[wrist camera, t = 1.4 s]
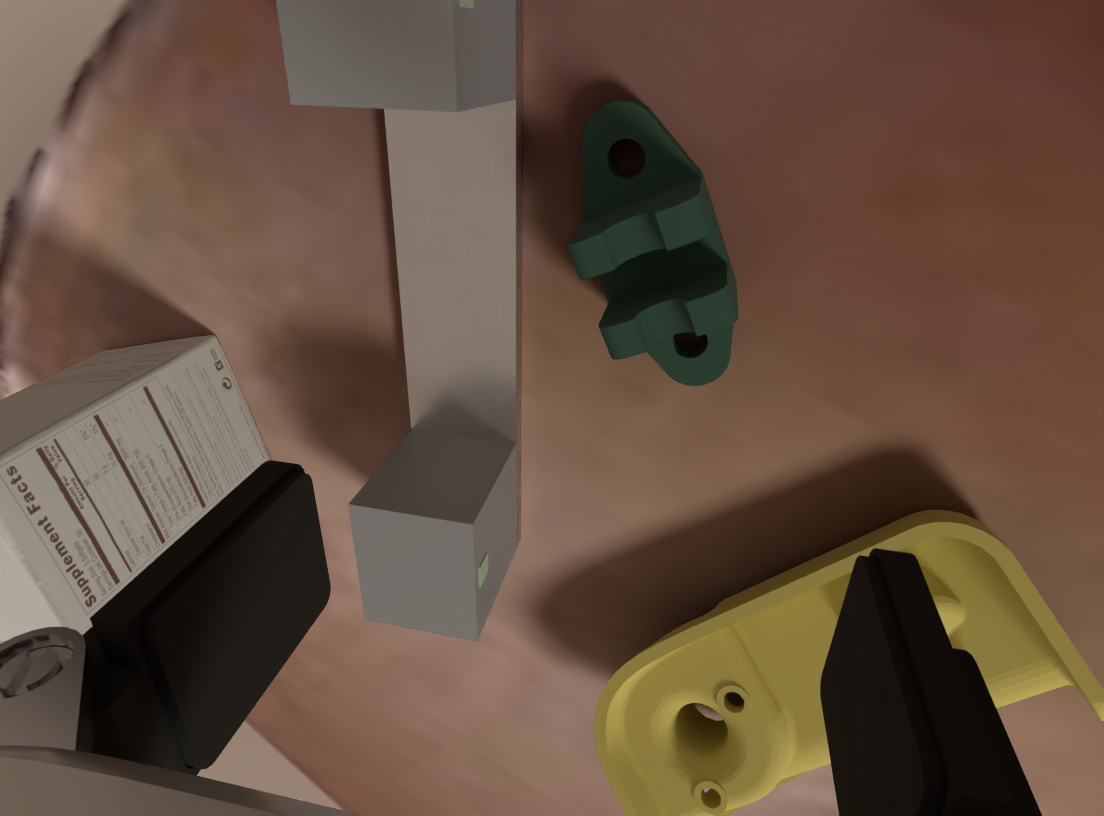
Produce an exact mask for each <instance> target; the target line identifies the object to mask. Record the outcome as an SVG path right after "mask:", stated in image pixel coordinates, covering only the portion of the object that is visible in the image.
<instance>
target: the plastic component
mask: <svg viewBox="0 0 1104 816" xmlns="http://www.w3.org/2000/svg"><path fill="white" fill-rule="evenodd" d="M874 548H878V549H885V550H892V551H899V552H905V553H912V554H914V555H915V556H916V558H917V560H918V562H919V565H920V567H921V570H922V572H923V575H924V577H925V580H926V582H927V585H928V587H929V590H930V592H931V595H932V597H933V600H934V602H935V605H936V607H937V610H938V612H939V615H940V617H941V620H942V622H943V625H944V628H945V630H946V633H947V635H948V638H949V640H950V643H951V645H952V648H956V649H962V650H967V651H968V652H969V653H970V654H971V655H972V656H973V658H974V659H975V661H976V663H977V665H978V667H979V669H980V672H981V674H982V676H983V679H984V681H985V683H986V686H987V688H988V690H989V693H990V695H991V697H992V700H993V702H994V704H995V707H996V708H999V707H1002V706H1005V705H1008V704H1011V703H1014V702H1017V701H1020V700H1023V699H1026V698H1029V697H1032V696H1035V695H1038V694H1041V693H1044V692H1047V691H1050V690H1053V689H1056V688H1059V687H1065V686H1066V687H1073V688H1076V689H1078V690H1079V691H1080V692H1081V694H1082V695H1083V696H1084V698H1085V699H1086V700H1087V702H1088V703H1089V705H1090V706H1091V707H1092V709H1093V710H1094V711H1095V713H1096V714H1097V715H1098V717H1099V718H1100V719H1101V720H1102V721H1104V690H1103V689H1102V687H1101V686H1100V684H1099V683H1098V681H1097V680H1096V678H1095V677H1094V675H1093V674H1092V672H1091V671H1090V669H1089V668H1088V666H1087V665H1086V663H1085V662H1084V660H1083V659H1082V657H1081V656H1080V654H1079V653H1078V651H1077V650H1076V648H1075V647H1074V645H1073V644H1072V642H1071V641H1070V639H1069V638H1068V636H1067V634H1066V633H1065V631H1064V630H1063V628H1062V627H1061V625H1060V624H1059V622H1058V621H1057V619H1056V618H1055V616H1054V615H1053V613H1052V612H1051V610H1050V609H1049V607H1048V606H1047V604H1046V603H1045V601H1044V600H1043V598H1042V597H1041V595H1040V594H1039V592H1038V591H1037V589H1036V588H1035V586H1034V585H1033V583H1032V582H1031V580H1030V579H1029V577H1028V576H1027V574H1026V573H1025V571H1024V570H1023V568H1022V567H1021V565H1020V564H1019V562H1018V561H1017V559H1016V558H1015V556H1014V555H1013V553H1012V552H1011V551H1010V550H1009V549H1008V548H1007V547H1006V546H1005V545H1004V544H1003V542H1002V541H1001V540H1000V539H999V538H998V537H997V536H996V535H995V534H994V533H993V532H992V531H991V530H990V529H989V528H988V527H986V526H985V525H984V524H982V523H981V522H979V521H977V520H976V519H974V518H972V517H970V516H967V515H965V514H962V513H958V512H954V511H948V510H940V509H936V510H924V511H920V512H916V513H912V514H910V515H908V516H905V517H903V518H901V519H899V520H897V521H894V522H892V523H890V524H888V525H886V526H883V527H881V528H879V529H877V530H875V531H873V532H870V533H868V534H866V535H864V536H862V537H859V538H857V539H855V540H853V541H851V542H849V543H846V544H844V545H842V546H840V547H838V548H835V549H833V550H831V551H829V552H827V553H824V554H822V555H820V556H818V557H816V558H814V559H811V560H809V561H807V562H805V563H803V564H800V565H798V566H796V567H794V568H792V569H789V570H787V571H785V572H783V573H781V574H779V575H776V576H774V577H772V578H770V579H768V580H765V581H763V582H761V583H759V584H757V585H755V586H752V587H750V588H748V589H746V590H744V591H741V592H739V593H737V594H735V595H733V596H730V597H728V598H726V599H724V600H722V601H721V602H720V603H718V605H717V606H716V607H715V608H714V609H713V610H711V611H710V612H708V613H707V614H705V615H703V616H701V617H699V618H696V619H694V620H692V621H690V622H687V623H685V624H684V625H682V626H680V627H678V628H676V629H674V630H672V631H671V632H669V633H668V634H666V635H664V636H663V637H662V638H660V639H659V640H657V641H656V642H655V643H653V644H652V645H650V646H649V647H647V648H646V649H644V650H643V651H641V652H640V653H638V654H637V655H636V656H634V657H633V658H632V659H630V660H629V661H628V662H627V663H625V664H624V665H623V666H622V667H621V668H620V669H619V670H618V671H617V672H616V673H615V674H614V675H613V676H612V677H611V679H610V680H609V681H608V682H607V684H606V686H605V687H604V689H603V691H602V693H601V695H600V698H599V701H598V704H597V707H596V713H595V719H594V736H595V745H596V749H597V754H598V758H599V761H600V763H601V766H602V769H603V771H604V774H605V776H606V778H607V780H608V782H609V784H610V786H611V788H612V790H613V792H614V794H615V796H616V798H617V800H618V802H619V804H620V805H621V807H622V809H623V811H624V813H625V815H626V816H728V815H729V814H731V813H733V812H734V811H736V810H737V809H739V808H741V807H742V806H744V805H747V804H750V803H753V802H755V801H757V800H759V799H761V798H762V797H764V796H765V795H767V794H768V793H769V792H770V791H771V790H772V789H774V788H775V787H777V786H779V785H781V784H783V783H785V782H787V781H789V780H791V779H793V778H795V777H797V776H799V775H801V774H803V773H805V772H807V771H809V770H812V769H815V768H818V767H821V766H824V765H827V764H830V763H831V760H830V754H829V748H828V742H827V735H826V729H825V723H824V717H823V710H822V704H821V697H820V682H821V676H822V671H823V668H824V665H825V661H826V658H827V655H828V651H829V648H830V645H831V641H832V638H833V634H834V631H835V628H836V624H837V621H838V618H839V614H840V611H841V608H842V604H843V601H844V597H845V594H846V591H847V587H848V584H849V581H850V577H851V574H852V571H853V567H854V564H855V561H856V558H857V557H858V556H860V555H861V556H869V554H870V552H871V551H872V549H874ZM694 703H701V704H704V705H706V706H709V707H711V708H712V709H714V710H715V711H716V712H717V713H719V715H720V716H721V717H722V718H723V720H721V721H715V720H712V719H710V718H707V717H705V716H704V715H703V714H702V713H700V712H699V711H698V710H697V708H696V706H695V705H694ZM708 787H709V788H711V789H710V790H709V791H707V792H706V793H705V792H704V790H703V789H704V788H708Z"/></svg>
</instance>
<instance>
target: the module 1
mask: <svg viewBox="0 0 1104 816" xmlns="http://www.w3.org/2000/svg"><path fill="white" fill-rule="evenodd" d="M276 4H277V11H278V18H279V25H280V32H281V39H282V46H283V53H284V60H285V67H286V74H287V81H288V88H289V95H290V101H291V104H292V105H313V106H335V107H357V108H378V109H400V110H422V111H443V112H460V111H465V110H470V109H474V108H479V107H484V106H488V105H493V104H498V103H503V102H507V101H512V100H516V0H276Z"/></svg>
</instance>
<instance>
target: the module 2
mask: <svg viewBox="0 0 1104 816" xmlns="http://www.w3.org/2000/svg"><path fill="white" fill-rule="evenodd" d="M348 505H349V512H350V519H351V526H352V532H353V539H354V546H355V553H356V560H357V567H358V574H359V581H360V588H361V595H362V602H363V609H364V616H365V620H370V621H375V622H380V623H385V624H391V625H396V626H401V627H406V628H411V629H416V630H421V631H426V632H431V633H436V634H441V635H446V636H451V637H457V638H462V639H467V640H472V641H478V639H479V636H480V634H481V632H482V629H483V627H484V625H485V622H486V620H487V617H488V615H489V613H490V610H491V608H492V605H493V603H494V601H495V598H496V596H497V594H498V591H499V589H500V586H501V584H502V582H503V579H504V577H505V574H506V572H507V570H508V567H509V565H510V563H511V560H512V558H513V555H514V553H515V551H516V444H514V443H507V442H500V441H493V440H485V439H478V438H471V437H464V436H457V435H449V434H442V433H435V432H428V431H421V430H413V429H411V430H410V431H409V432H408V434H407V435H406V436H405V437H404V438H403V440H402V441H401V442H400V443H399V444H398V446H397V447H396V448H395V449H394V450H393V452H392V453H391V454H390V455H389V456H388V458H387V459H386V460H385V461H384V462H383V464H382V465H381V466H380V467H379V468H378V470H377V471H376V472H375V473H374V474H373V476H372V477H371V478H370V479H369V480H368V482H367V483H366V484H365V485H364V486H363V488H362V489H361V490H360V491H359V492H358V493H357V495H356V496H355V497H354V498H353V499H352V501H351V502H350V503H349V504H348Z"/></svg>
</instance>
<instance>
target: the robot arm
mask: <svg viewBox="0 0 1104 816" xmlns="http://www.w3.org/2000/svg"><path fill="white" fill-rule="evenodd" d="M330 590H331V587H330V580H329V574H328V568H327V563H326V557H325V551H324V546H323V540H322V534H321V529H320V523H319V517H318V511H317V506H316V500H315V494H314V489H313V483H312V479H311V477H310V475H308V474H306V473H305V472H304V469H303V468H302V467H301V466H300V465H298V464H293V463H286V462H279V461H272V460H270V461H266V462H264V463H263V464H261V465H260V466H259V467H258V468H257V469H256V470H255V471H253V472H252V473H251V474H250V475H249V476H248V477H247V478H246V479H245V480H243V481H242V482H241V483H240V484H239V485H238V486H237V487H236V488H234V489H233V490H232V491H231V492H230V493H229V494H228V495H227V496H226V497H224V498H223V499H222V500H221V501H220V502H219V503H218V504H217V505H215V506H214V507H213V508H212V509H211V510H210V511H209V512H208V513H207V514H205V515H204V516H203V517H202V518H201V519H200V520H199V521H198V522H196V523H195V524H194V525H193V526H192V527H191V528H190V529H189V530H188V531H186V532H185V533H184V534H183V535H182V536H181V537H180V538H179V539H177V540H176V541H175V542H174V543H173V544H172V545H171V546H170V547H169V548H167V549H166V550H165V551H164V552H163V553H162V554H161V555H160V556H158V557H157V558H156V559H155V560H154V561H153V562H152V563H151V564H150V565H148V566H147V567H146V568H145V569H144V570H143V571H142V572H141V573H139V574H138V575H137V576H136V577H135V578H134V579H133V580H132V581H131V582H129V583H128V584H127V585H126V586H125V587H124V588H123V589H122V590H120V591H119V592H118V593H117V594H116V595H115V596H114V597H113V598H112V599H110V600H109V601H108V602H107V603H106V604H105V605H104V606H103V607H101V608H100V609H99V610H98V611H97V612H96V613H95V614H94V615H93V616H91V617H90V620H91V623H92V625H93V627H92V628H90V629H89V630H88V631H87V632H86V633H85V634H84V635H83V636H82V635H81V634H80V633H79V632H78V631H77V630H74V629H71V628H68V627H46V628H41V629H36V630H32V631H29V632H26V633H23V634H21V635H18V636H15V637H13V638H11V639H9V640H7V641H5V642H4V643H2V644H0V816H363V815H359V814H355V813H351V812H347V811H343V810H339V809H334V808H330V807H326V806H321V805H318V804H313V803H309V802H305V801H301V800H297V799H292V798H288V797H284V796H279V795H275V794H271V793H267V792H263V791H258V790H254V789H250V788H246V787H242V786H238V785H233V784H229V783H225V782H221V781H216V780H212V779H208V778H204V777H200V776H196V775H197V774H198V773H199V771H200V770H201V769H206V768H208V767H209V766H211V765H212V764H213V763H214V762H215V760H216V759H217V758H218V756H219V755H220V754H221V752H222V751H223V749H224V748H225V747H226V745H227V744H228V742H229V741H230V740H231V738H232V737H233V735H234V734H235V732H236V731H237V730H238V728H239V727H240V726H241V724H242V723H243V721H244V720H245V719H246V717H247V716H248V714H249V713H250V712H251V710H252V709H253V707H254V706H255V705H256V703H257V702H258V700H259V699H260V698H261V696H262V695H263V693H264V692H265V691H266V689H267V688H268V686H269V685H270V684H271V682H272V681H273V679H274V678H275V677H276V675H277V674H278V672H279V671H280V669H281V668H282V667H283V665H284V664H285V662H286V661H287V660H288V658H289V657H290V655H291V654H292V653H293V651H294V650H295V648H296V647H297V646H298V644H299V643H300V641H301V640H302V639H303V637H304V636H305V634H306V633H307V632H308V630H309V629H310V627H311V626H312V625H313V623H314V622H315V620H316V619H317V618H318V616H319V615H320V613H321V612H322V611H323V609H324V608H325V606H326V604H327V602H328V600H329V596H330ZM820 697H821V704H822V710H823V717H824V723H825V729H826V735H827V742H828V748H829V754H830V760H831V766H832V773H833V779H834V785H835V791H836V798H837V804H838V810H839V816H1042V814H1041V812H1040V810H1039V807H1038V805H1037V803H1036V800H1035V798H1034V796H1033V793H1032V791H1031V789H1030V786H1029V784H1028V782H1027V779H1026V777H1025V775H1024V772H1023V770H1022V768H1021V765H1020V763H1019V760H1018V758H1017V756H1016V753H1015V751H1014V749H1013V746H1012V744H1011V742H1010V739H1009V737H1008V735H1007V732H1006V730H1005V728H1004V725H1003V723H1002V721H1001V718H1000V716H999V714H998V711H997V709H996V707H995V704H994V702H993V700H992V697H991V695H990V693H989V690H988V688H987V686H986V683H985V681H984V679H983V676H982V674H981V672H980V669H979V667H978V665H977V663H976V661H975V659H974V658H973V656H972V655H971V654H970V653H969V652H968V651H967V650H962V649H956V648H952V645H951V643H950V640H949V638H948V635H947V633H946V630H945V628H944V625H943V622H942V620H941V617H940V615H939V612H938V610H937V607H936V605H935V602H934V600H933V597H932V595H931V592H930V590H929V587H928V585H927V582H926V580H925V577H924V575H923V572H922V570H921V567H920V565H919V562H918V560H917V558H916V556H915V555H914V554H912V553H905V552H899V551H892V550H885V549H878V548H874V549H872V551H871V552H870V554H869V556H861V555H860V556H858V557H857V558H856V561H855V564H854V567H853V571H852V574H851V577H850V581H849V584H848V587H847V591H846V594H845V597H844V601H843V604H842V608H841V611H840V614H839V618H838V621H837V624H836V628H835V631H834V634H833V638H832V641H831V645H830V648H829V651H828V655H827V658H826V661H825V665H824V668H823V671H822V676H821V682H820Z"/></svg>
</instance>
